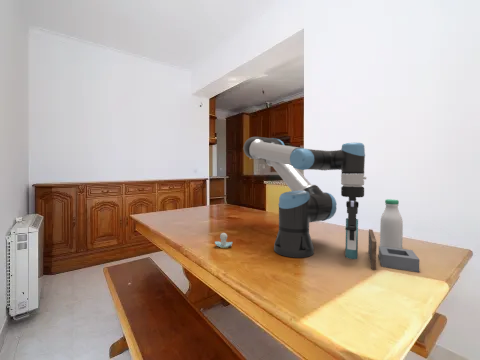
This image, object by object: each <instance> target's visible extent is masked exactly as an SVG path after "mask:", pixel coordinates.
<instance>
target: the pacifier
mask: <svg viewBox="0 0 480 360" xmlns="http://www.w3.org/2000/svg"><path fill="white" fill-rule="evenodd" d="M219 238H220V241H214V244H215V245H216V247H217V248H219V247H220V248H219V249H228V248H230V247H232V246H233V241H227V239H228V234H227V233H225V232H221V233H220V235H219Z"/></svg>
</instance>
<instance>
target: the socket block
mask: <svg viewBox="0 0 480 360" xmlns="http://www.w3.org/2000/svg"><path fill="white" fill-rule="evenodd" d="M378 259H379V262H380V265H381V267H383V268H387V269H388V268H389V269H396V270H403V271H409V272H415V273H420V258H419V257H418V256H417V254H416V253H415V251H414V250H413V249H408V248H407V249H405V248H402V249H399V248H391V247H383V246H380V245H379V246H378Z"/></svg>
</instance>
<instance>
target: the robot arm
mask: <svg viewBox="0 0 480 360" xmlns="http://www.w3.org/2000/svg"><path fill="white" fill-rule="evenodd" d="M365 148H366V147H365V145H364V143H362V142H346V143H343V144H342V145H341V149H338V150H322V149H321V150H320V149H311V148H305V147H304V148H303V147H298V146H297V147H296V146H291V145H285V143H284V141H282V140H281V139H279V138H274V137H263V136H262V137H261V136H252V137H249V138H248V139H246V141H245V142H244V144H243V147H242V149H243V153H244V154H245V156H246V157H248V158H249V159H252V160H262V161H264V162H265V163H266V165H267V166H268V167H272V168H273V169H274V170H275V172H276V173H277V174H278V176H279V177H280V178H281V179H282V181H283V182H284V183H285V184H286V185H287V187H288V189H290V190H289V191H286V192H282V193H281V194H280V195H279V198H278V231H277V236H276V239H275V241H274V245H273V250H274V251H273V252H274V253H276V254H277V255H281V256H284V257H288V258H295V259H296V258H300V259H301V258H307V257H308V258H309V257H310V256H313V255H314V252H315V251H314V250H315V248H314V244H313V241H312V238H311V237H312V236H311V235H310V223H316V222H325V221H328V220H329V219H332V218H333V217H334V216H335V215H336V212H337V200H336V199H335V197H334V195H332V194H331V193H329V192H323V190H322V189H321V188H320V187H319V186H318V185H317V184H311V182H310V181H309V180H308V179H307V178H306V177H305V176H304V175H303V173H302V172H301V171H300V170H302V171H305V170H316V171H339V170H341V174H340V178H341V179H340V184H341V185H342V186H341V187H340V189H341V190H340V193H341V194H340V195H341V197H344V198H348V200H347V201H346V202H345V206H346V213H347V216H348V217H347V218H348V227H346V226H345V231H346V230H347V249H351V250H356V229H357V228H356V219H357V215H358V214H359V213H358V211H359V209H358V208H359V201H357V198H364V197H365V187H364V185H365V180H367V177H366V176H365V163H366V162H365V158H366V153H365V151H366V150H365Z"/></svg>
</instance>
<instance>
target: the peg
mask: <svg viewBox="0 0 480 360" xmlns="http://www.w3.org/2000/svg"><path fill="white" fill-rule="evenodd" d="M346 227H348V217H347V218H345V228H346ZM356 228H357V229H356V250H351V249H347V230H345V249H344V250H345V253H344V254H345V258H347V259H350V260H357V259H358V255H359V253H358V249H359V242H358V241H359V219H358V218H356Z"/></svg>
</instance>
